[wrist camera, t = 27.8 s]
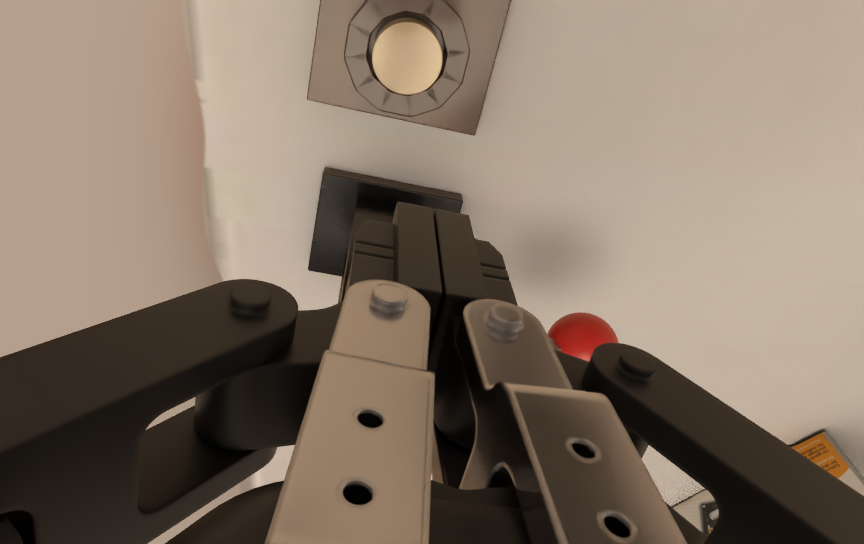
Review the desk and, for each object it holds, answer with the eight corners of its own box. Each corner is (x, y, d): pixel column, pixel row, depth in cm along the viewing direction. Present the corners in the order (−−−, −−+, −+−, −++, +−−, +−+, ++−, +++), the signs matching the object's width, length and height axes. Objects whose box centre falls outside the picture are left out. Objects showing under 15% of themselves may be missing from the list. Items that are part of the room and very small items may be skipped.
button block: (507, -10, 36) (519, -3, 32) (471, 126, 40) (478, 146, 36) (331, -55, 34) (323, -52, 31) (310, 91, 38) (302, 108, 35)
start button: (447, 26, 33) (449, 30, 32) (432, 93, 35) (433, 101, 33) (379, 9, 33) (379, 14, 31) (367, 79, 34) (366, 86, 33)
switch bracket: (461, 194, 42) (495, 340, 27) (437, 284, 45) (455, 460, 30) (324, 166, 40) (282, 305, 26) (309, 262, 44) (264, 434, 29)
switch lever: (600, 297, 36) (645, 339, 33) (577, 353, 38) (618, 397, 35) (343, 305, 29) (370, 358, 26) (330, 373, 31) (354, 429, 28)
